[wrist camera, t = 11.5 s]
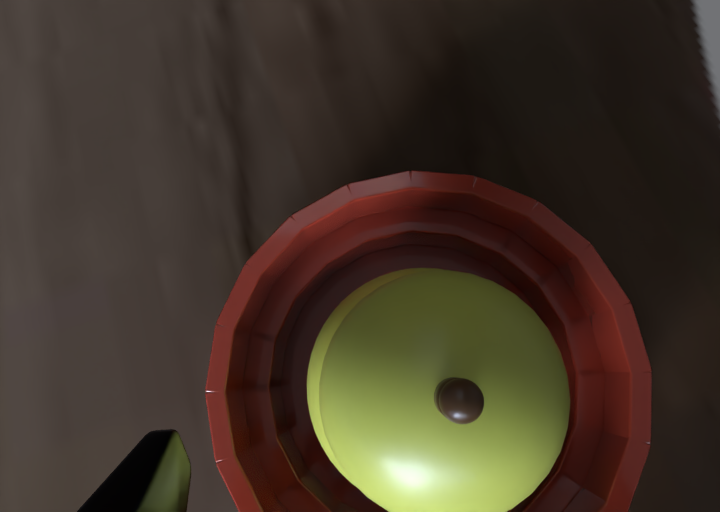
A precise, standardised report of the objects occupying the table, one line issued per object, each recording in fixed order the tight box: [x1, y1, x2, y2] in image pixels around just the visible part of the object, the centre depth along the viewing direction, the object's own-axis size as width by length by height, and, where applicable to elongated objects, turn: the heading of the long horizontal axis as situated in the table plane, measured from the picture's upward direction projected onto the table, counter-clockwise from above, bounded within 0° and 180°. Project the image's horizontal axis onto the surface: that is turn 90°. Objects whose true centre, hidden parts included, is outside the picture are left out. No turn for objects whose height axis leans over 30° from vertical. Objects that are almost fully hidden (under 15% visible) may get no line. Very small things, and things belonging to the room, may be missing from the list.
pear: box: [307, 268, 570, 512], centre depth 13 cm, size 7×7×12 cm
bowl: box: [205, 170, 652, 512], centre depth 18 cm, size 12×12×4 cm
